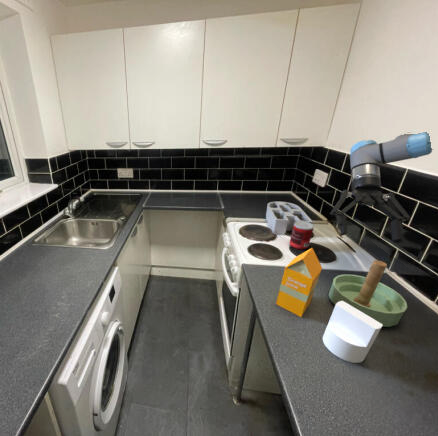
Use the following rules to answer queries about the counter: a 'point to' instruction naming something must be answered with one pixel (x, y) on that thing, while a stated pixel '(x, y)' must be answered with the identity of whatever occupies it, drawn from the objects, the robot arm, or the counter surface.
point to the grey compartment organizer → (284, 216)
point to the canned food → (301, 235)
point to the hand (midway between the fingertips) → (369, 237)
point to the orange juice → (299, 282)
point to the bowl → (380, 302)
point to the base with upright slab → (350, 333)
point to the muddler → (371, 283)
